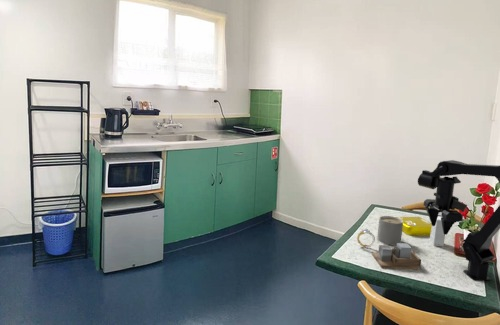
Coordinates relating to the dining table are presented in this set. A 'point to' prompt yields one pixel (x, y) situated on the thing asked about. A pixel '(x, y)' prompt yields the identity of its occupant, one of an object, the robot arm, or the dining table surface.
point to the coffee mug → (390, 230)
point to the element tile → (416, 226)
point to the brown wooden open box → (395, 259)
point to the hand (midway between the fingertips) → (439, 229)
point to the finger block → (403, 250)
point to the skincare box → (437, 233)
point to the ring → (364, 233)
